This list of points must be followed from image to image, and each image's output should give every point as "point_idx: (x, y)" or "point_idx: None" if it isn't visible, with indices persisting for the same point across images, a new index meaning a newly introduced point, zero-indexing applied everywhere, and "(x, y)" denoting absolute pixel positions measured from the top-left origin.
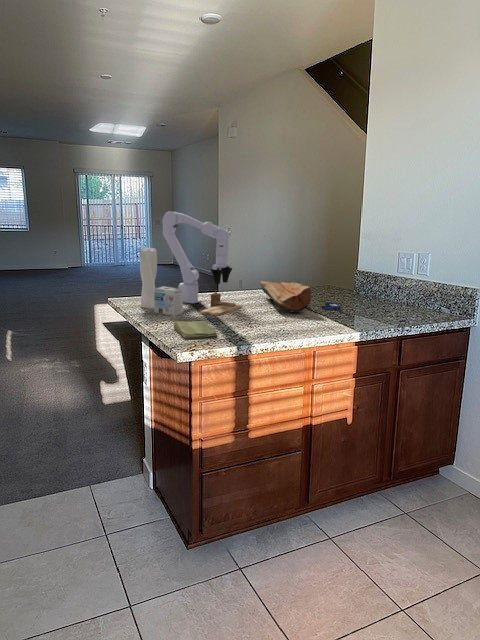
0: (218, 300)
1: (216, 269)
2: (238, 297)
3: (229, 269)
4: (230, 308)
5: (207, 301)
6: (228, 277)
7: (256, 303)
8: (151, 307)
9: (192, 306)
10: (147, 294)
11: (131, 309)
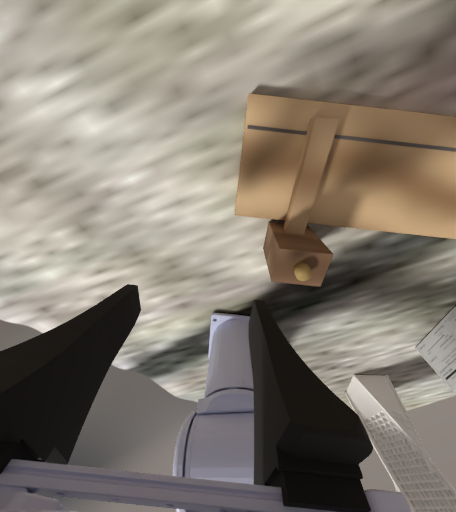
0: (294, 235)
1: (388, 492)
2: (15, 222)
3: (20, 394)
4: (386, 123)
5: (198, 296)
6: (94, 307)
7: (67, 44)
8: (386, 377)
9: (320, 305)
10: (411, 429)
11: (411, 397)
